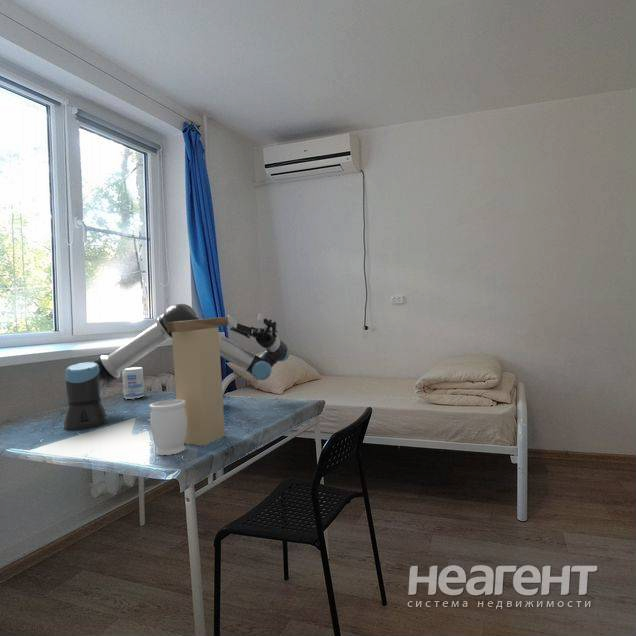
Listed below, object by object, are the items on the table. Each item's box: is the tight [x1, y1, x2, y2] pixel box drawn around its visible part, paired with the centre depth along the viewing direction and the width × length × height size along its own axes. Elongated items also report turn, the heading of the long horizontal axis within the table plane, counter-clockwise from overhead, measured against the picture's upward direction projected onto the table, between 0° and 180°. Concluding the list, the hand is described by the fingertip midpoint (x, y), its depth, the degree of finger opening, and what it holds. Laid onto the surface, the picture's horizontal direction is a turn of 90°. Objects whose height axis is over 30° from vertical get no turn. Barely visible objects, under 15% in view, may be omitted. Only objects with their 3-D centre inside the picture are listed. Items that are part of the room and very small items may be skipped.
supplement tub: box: [121, 366, 145, 400], centre depth 234 cm, size 10×10×15 cm
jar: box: [148, 398, 187, 456], centre depth 144 cm, size 11×10×15 cm
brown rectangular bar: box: [167, 316, 229, 332], centre depth 156 cm, size 4×27×3 cm, turn 157°
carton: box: [171, 327, 226, 446], centre depth 155 cm, size 10×11×36 cm
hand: (243, 317), depth 181 cm, fingers open, 13 cm apart
